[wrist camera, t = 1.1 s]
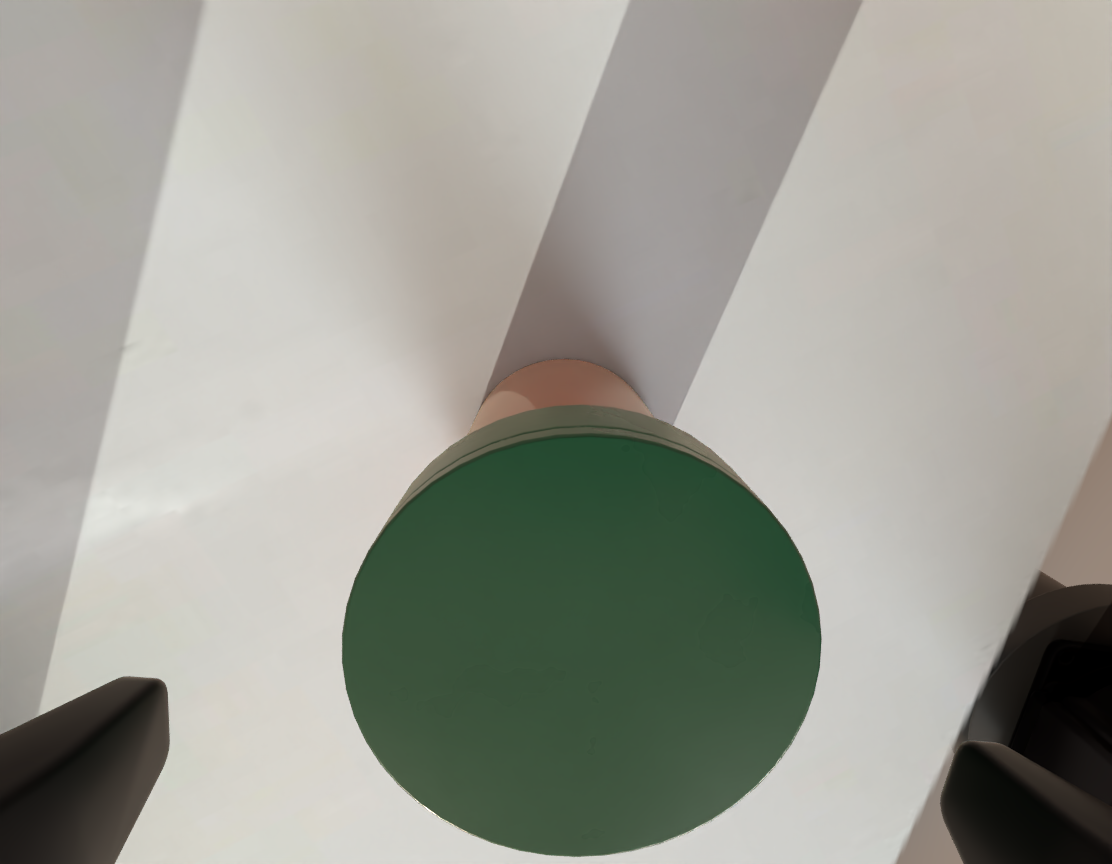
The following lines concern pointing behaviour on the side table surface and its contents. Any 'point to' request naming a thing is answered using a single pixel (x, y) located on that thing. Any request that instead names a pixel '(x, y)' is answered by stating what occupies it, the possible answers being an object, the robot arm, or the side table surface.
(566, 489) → the green cylinder
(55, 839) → the robot arm
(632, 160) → the side table surface
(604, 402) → the jar
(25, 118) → the side table surface
